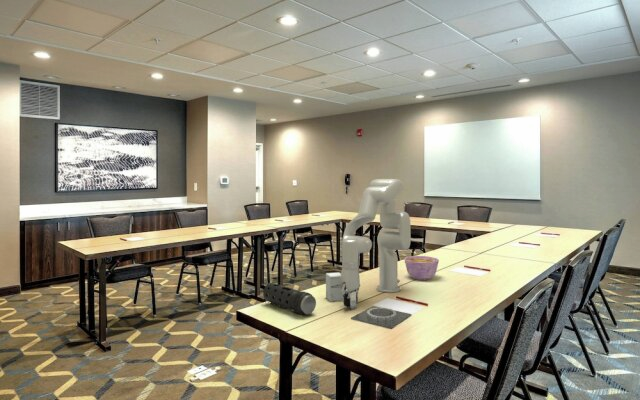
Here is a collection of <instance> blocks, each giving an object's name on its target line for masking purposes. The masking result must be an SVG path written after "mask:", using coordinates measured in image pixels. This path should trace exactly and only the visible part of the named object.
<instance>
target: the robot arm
mask: <svg viewBox="0 0 640 400" xmlns="http://www.w3.org/2000/svg"><path fill="white" fill-rule="evenodd" d="M403 189H404V184H403V182H402V180H400V179H398V178H376V179H373V180H371V181H370V183H369V187H366V188H365V189H364V190H363V193H362V194H363V195H362V196H361V197H362V198H361V202H360V205H359V209H358V213H357V215H356V216H355V217H353V218H352V219H351V220H350V222H349V223H348V224H347V225H346V226H345V228H344V232H343V236H342V240H341V255H342V256H341V260H342V261H341V263H342V265H341V272H340V273H341V280H340V290H341V292H340V293H341V294H342V295H343V298H344V300H343V306H344V307H345V306H347V307H350V298H349V297H350V292H351V291H353V290H355V291H356V304H358V302H359V299H358V295H359V290H360V288H361V281H360V269H359V268H360V267H359V266H360V265H359V264H360V263H359V262H360V261H359V258H360V257H359V254H365V253H368V252H369V251H370V250H371V249H372V246H373V241H372V240H371V239H370V238H369V237H366V236H362V235H361V236H360V235H354V234H355V232H356V231H357V230H358V229H359V228H360V227H362V226H364V225H367V224H368V223H372V222H373V221H374V220H376V216H377V212H378V207H379V224H380V226H381V228H383V229H390V230H383V231H380V232H379V233H378V235H377V241H376V242H377V245H378V253H379V255H378V256H379V258H378V259H379V261H378V262H379V264H378V265H379V285H377V286H376V290H377V291H378V292H381V293H387V294H388V293H390V294H391V293H398V292H400V291H401V287H400V286H399V283H400V282H401V279H399V278H398V255H397V253H396V251H407V250H409V249H410V246H411V237H412V236H411V233H412V232H411V218H410V214H409V213H407V212H406V211H401V210H397V207H396V206H397V205H396V199H397V198H398V197H399V196H400V195H401V194H402V193H403ZM394 230H398V231H394ZM346 290H347V291H346ZM346 292H348V295H347V294H346Z"/></svg>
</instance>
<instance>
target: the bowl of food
mask: <svg viewBox="0 0 640 400" xmlns="http://www.w3.org/2000/svg"><path fill="white" fill-rule="evenodd" d="M439 261H440V260H439V259H438V258H437V257H434V256H429V255H428V256H426V255H409V256H406V257H404V264H405V268H406V271H407V274H408V275H409V276H410V277H411V278H413V279H414V280H416V281H417V280H418V281H427V280H429V279H431V278H433V277H434V276H435V275H436V273H437V269H438V266H439Z"/></svg>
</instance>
